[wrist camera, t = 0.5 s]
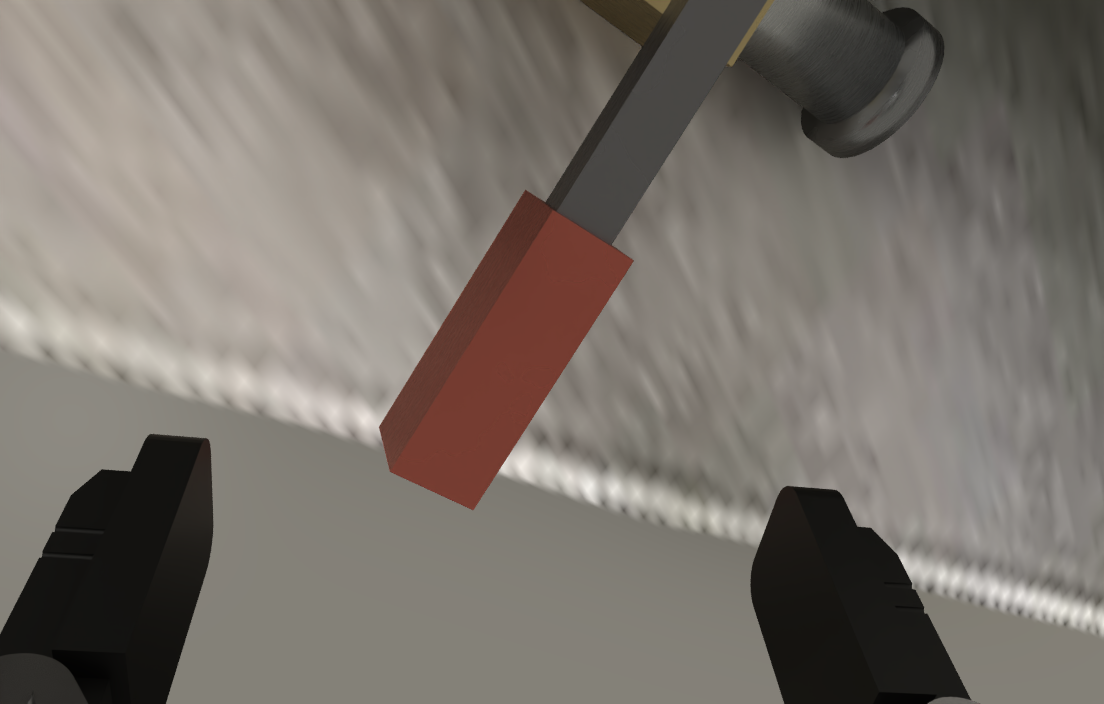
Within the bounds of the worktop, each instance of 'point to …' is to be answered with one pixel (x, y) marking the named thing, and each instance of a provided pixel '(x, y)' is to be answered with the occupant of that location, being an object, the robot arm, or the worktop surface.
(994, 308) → the worktop surface
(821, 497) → the robot arm
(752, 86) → the worktop surface
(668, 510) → the worktop surface
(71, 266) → the worktop surface
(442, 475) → the lever
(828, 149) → the valve
